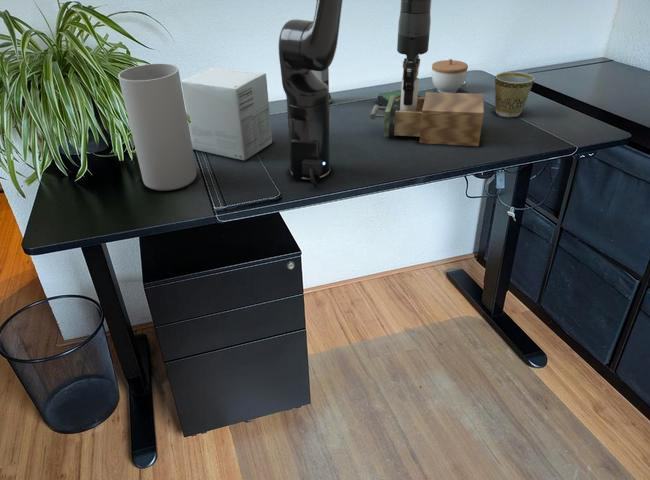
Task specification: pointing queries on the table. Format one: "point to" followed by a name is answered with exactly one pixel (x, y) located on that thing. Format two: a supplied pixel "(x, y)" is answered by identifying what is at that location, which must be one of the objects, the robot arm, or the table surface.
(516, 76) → the ceramic cup
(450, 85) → the trinket box
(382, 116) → the drawer
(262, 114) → the supplement box
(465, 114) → the cabinet
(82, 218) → the table surface
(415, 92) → the lotion bottle
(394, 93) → the disk drive
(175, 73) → the cylinder vase
